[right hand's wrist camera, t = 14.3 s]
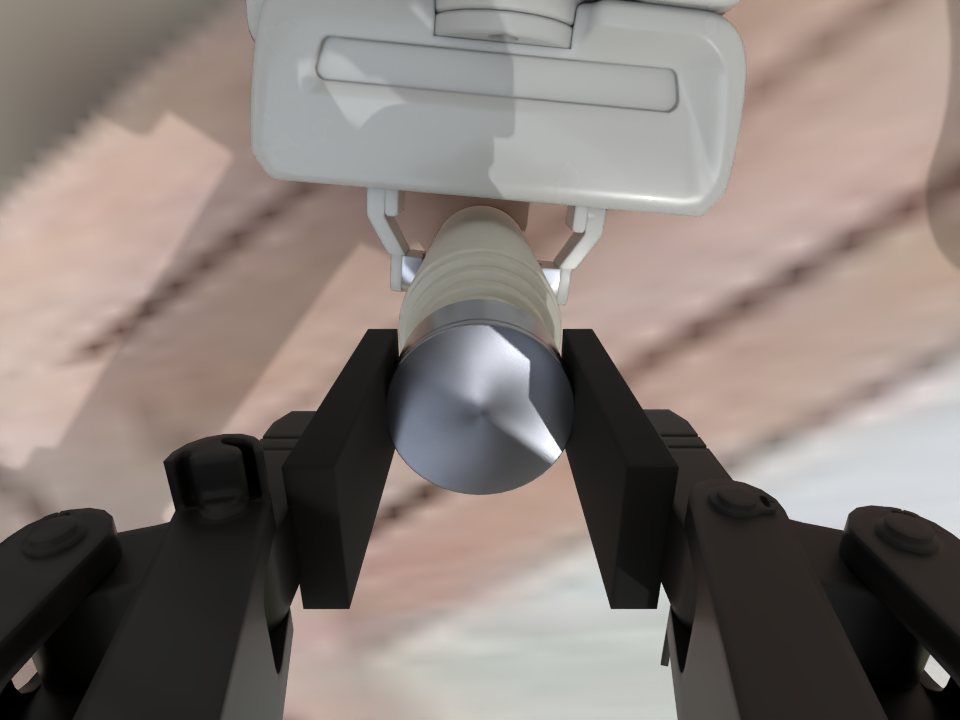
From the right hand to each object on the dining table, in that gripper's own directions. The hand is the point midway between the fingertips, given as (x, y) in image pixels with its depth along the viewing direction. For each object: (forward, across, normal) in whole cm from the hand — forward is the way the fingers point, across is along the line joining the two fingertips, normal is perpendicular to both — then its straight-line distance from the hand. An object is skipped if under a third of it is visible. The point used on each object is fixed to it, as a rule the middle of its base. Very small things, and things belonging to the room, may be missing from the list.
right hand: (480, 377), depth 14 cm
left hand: (+12, 0, -1) cm, 12 cm away
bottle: (+19, 0, 0) cm, 19 cm away
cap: (-2, 0, 0) cm, 2 cm away
